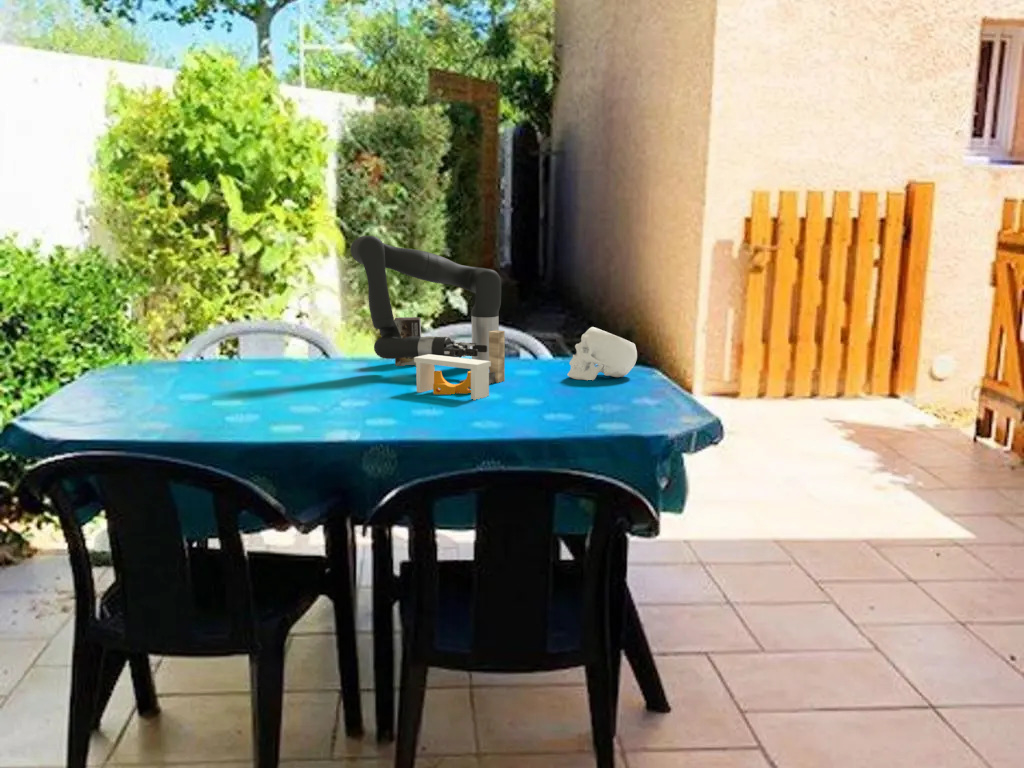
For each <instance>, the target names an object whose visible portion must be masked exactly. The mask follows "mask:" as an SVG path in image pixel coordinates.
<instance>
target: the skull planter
mask: <svg viewBox="0 0 1024 768" xmlns="http://www.w3.org/2000/svg"><path fill="white" fill-rule="evenodd" d="M580 340H581V341H580V342H579V343H576V344H575V345H574V348H575V352H576V353H575V354H572V358H571V359H570V361H569V363H568V364H569V365H570V370H569V371H568V372H567V376H568V377H569V378H571V379H574V380H582V381H583V380H585V381H588V380H592V381H594V380H596V378H597V376H598V374H599V373H603V375H604V376H607V377H608V376H610V377H614V378H620V377H621V378H623V377H625V376H627V375H628V374H629V373H630V371H632V369H633V368H634V367H635V365H636V362H637V360H638V351H637V347H636V344H635V343H634V342H631V341H630V340H627V339H625V338H623V337H621V336H618V335H615V334H613V333H610V332H608V331H605V330H602V329H600V328H598V327H594V326H591V327H589V328H588V329H587V330H586V331H585V332H584V333H583V334H582V335H581V338H580Z"/></svg>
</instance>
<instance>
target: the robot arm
mask: <svg viewBox="0 0 1024 768" xmlns="http://www.w3.org/2000/svg"><path fill="white" fill-rule="evenodd" d="M350 255H351V257H352V258H353V259H354V260H355V261H356V262H357V263H358V264H361V265H363V268H364V270H365V273H366V279H367V283H368V284H367V285H368V286H367V287H368V295H367V296H368V307H369V312H370V317H371V321H372V326H373V328H374V329H376V330H378V331H379V332H380V333H379V334H380V335H381V337H379V338H378V339H376V341H375V342H374V345H373V351H374V353H375V354H376V355H377V356H378V357H380V358H382V359H386V360H387V359H389V360H392V359H394V360H395V358H406V357H410V358H414V357H418V356H422V355H427V354H432V355H441V356H450V357H458V358H465V357H471V359H476V360H485V361H489V331H494V330H498V331H500V330H499V326H500V325H499V324H500V323H499V319H500V318H499V315H500V314H499V311H500V308H501V305H502V304H501V303H502V280H501V277H500V275H499V273H498V272H497V271H496V270H494V269H492V268H485V267H477V266H470V265H462V264H459V263H457V262H454V261H453V260H450V259H448V258H446V257H443V256H441V255H438V254H435V253H432V252H429V251H424V250H420V249H414V248H406V247H398V246H397V247H396V246H393V245H391V244H390V245H389V244H388V243H387V244H386V243H384V242H383V241H382V240H381V239H380V238H379V237H377V236H375V235H362V236H359V237H357V238H355V240H354V241H353V242H352V243H351V245H350ZM386 269H390V270H393V271H396V272H397V273H400V274H404V275H406V276H409V277H410V278H411V277H412V278H415V279H418V280H422V281H426V282H428V283H429V282H430V283H435V284H442V285H449V286H450V285H452V286H455V287H458V288H461V289H464V290H465V291H469V292H471V293H473V294H475V300H474V302H475V303H474V305H473V307H472V308H471V342H462V341H459V342H455V343H453V342H452V339H451V338H450V337H447V336H433V335H432V336H429V335H427V336H421V337H418V336H409V337H406V338H401V335H400V332H399V330H398V328H397V325H396V324H395V322H394V319H395V317H394V313H393V308H392V304H391V299H390V294H389V288H388V280H387V272H386Z"/></svg>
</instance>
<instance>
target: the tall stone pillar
mask: <svg viewBox="0 0 1024 768" xmlns="http://www.w3.org/2000/svg"><path fill="white" fill-rule="evenodd" d="M505 333H506V332H505V330H499V331H498V330H494V331H489V361H491V366H490V367H489V385H492V384H495V382H496V383H497V384H499V382H500V383H503V382H505V381H506V380H505V378H506V375H505V374H506V373H505V371H506V370H505V366H506V364H505V357H506V356H505V355H506V353H505V342H506V341H505V336H506V335H505ZM465 379H466V378H465ZM465 379H462V380H459V384H460V383H462V382H463V381H465ZM502 381H503V382H502ZM491 383H492V384H491ZM468 389H469V390H470V389H471V387H468Z"/></svg>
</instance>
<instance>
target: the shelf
mask: <svg viewBox="0 0 1024 768" xmlns="http://www.w3.org/2000/svg"><path fill="white" fill-rule="evenodd" d="M414 362H416V365H415V367H416V369H415V371H416V372H415V375H416V393H424V392H428V391H431V390H432V391H433V384H434V372H435V371H436V370H435V369H436V368H435V366H443V367H449V368H458V369H466V370H467V369H468V370H470V371H471V394H470V400H471V399H473V400H472V401H476V399H478V400H480V398H481V399H484V398H487V396H488V397H490V384H489V367H490V366H491V361H485V360H476V359H472V358H465V357H461V358H459V357H450V356H441V355H432V354H427V355H422V356H418V357H414Z"/></svg>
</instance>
